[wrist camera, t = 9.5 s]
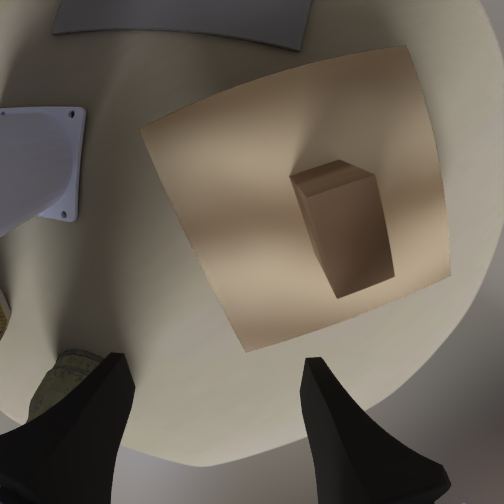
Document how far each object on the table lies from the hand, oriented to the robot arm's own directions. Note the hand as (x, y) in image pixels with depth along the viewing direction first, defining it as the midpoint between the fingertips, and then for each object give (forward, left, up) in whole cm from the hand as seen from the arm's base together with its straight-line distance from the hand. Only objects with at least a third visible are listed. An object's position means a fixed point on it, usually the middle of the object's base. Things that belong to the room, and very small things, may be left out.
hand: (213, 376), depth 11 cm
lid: (+4, +6, -5) cm, 9 cm away
